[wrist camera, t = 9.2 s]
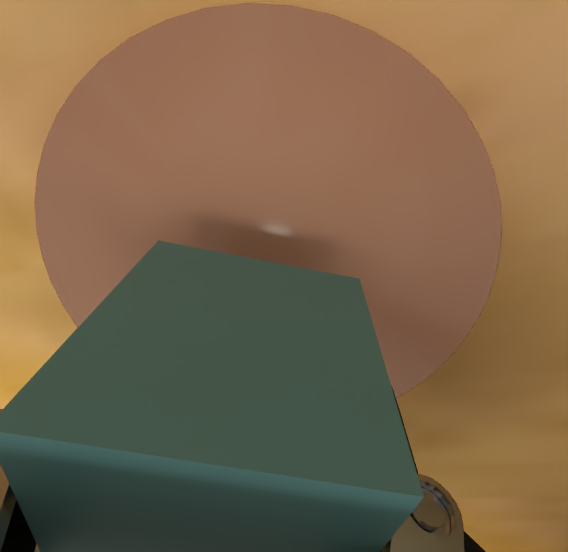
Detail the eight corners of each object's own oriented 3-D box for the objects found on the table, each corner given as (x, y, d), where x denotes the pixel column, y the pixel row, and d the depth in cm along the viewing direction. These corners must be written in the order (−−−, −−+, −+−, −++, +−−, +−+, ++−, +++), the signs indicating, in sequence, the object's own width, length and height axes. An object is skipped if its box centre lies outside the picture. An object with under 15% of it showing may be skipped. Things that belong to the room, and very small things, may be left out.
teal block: (359, 278, 10) (423, 496, 5) (313, 407, 13) (320, 626, 8) (158, 240, 9) (-17, 429, 4) (159, 381, 12) (58, 592, 7)
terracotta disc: (584, 240, 14) (607, 253, 12) (300, 447, 22) (300, 465, 21) (178, -173, 9) (160, -208, 8) (8, 298, 17) (-12, 312, 16)
